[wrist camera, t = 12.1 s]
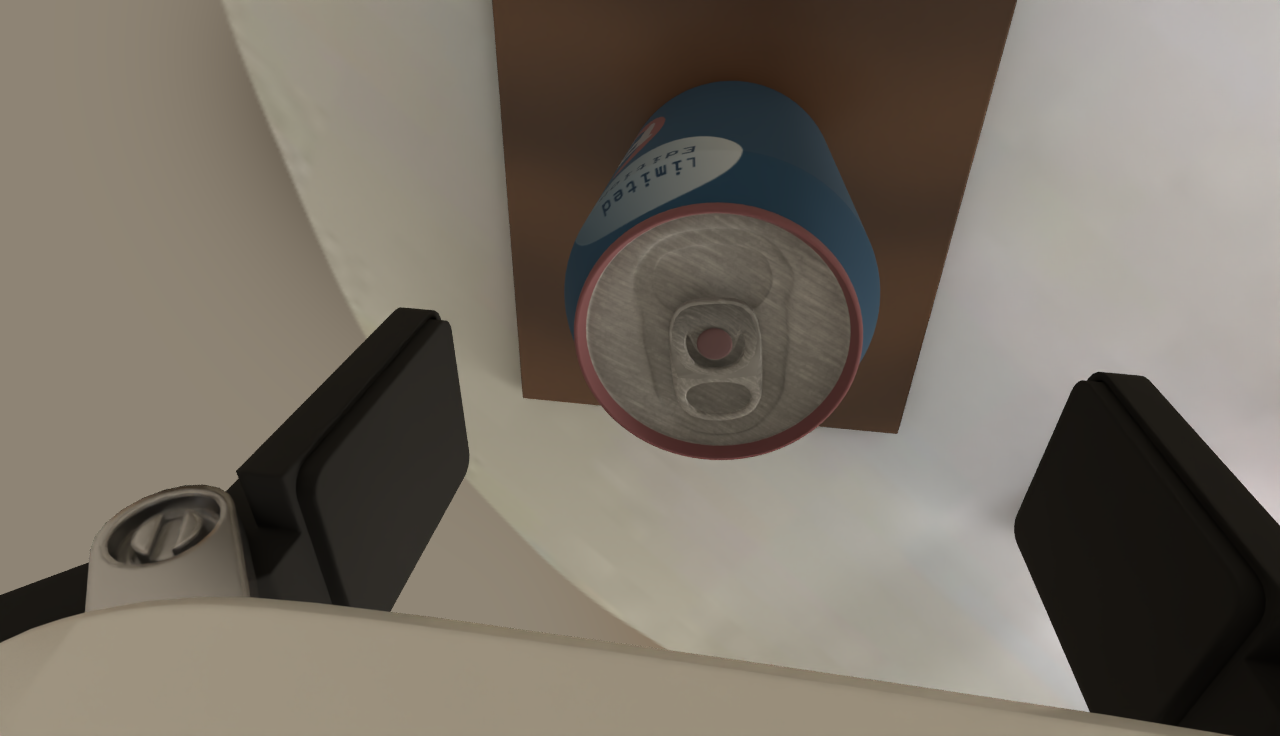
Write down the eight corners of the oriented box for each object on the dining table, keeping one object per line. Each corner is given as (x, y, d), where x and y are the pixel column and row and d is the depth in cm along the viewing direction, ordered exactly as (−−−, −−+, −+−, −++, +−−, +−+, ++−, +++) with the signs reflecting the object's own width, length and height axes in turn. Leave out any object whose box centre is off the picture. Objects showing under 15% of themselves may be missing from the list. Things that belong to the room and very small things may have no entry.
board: (484, -181, 20) (477, -184, 19) (1058, -176, 18) (1067, -180, 18) (526, 391, 30) (522, 398, 30) (895, 426, 29) (897, 434, 28)
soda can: (616, 86, 22) (511, 189, 12) (832, 63, 21) (913, 156, 11) (640, 278, 26) (573, 484, 16) (827, 268, 25) (885, 482, 15)
